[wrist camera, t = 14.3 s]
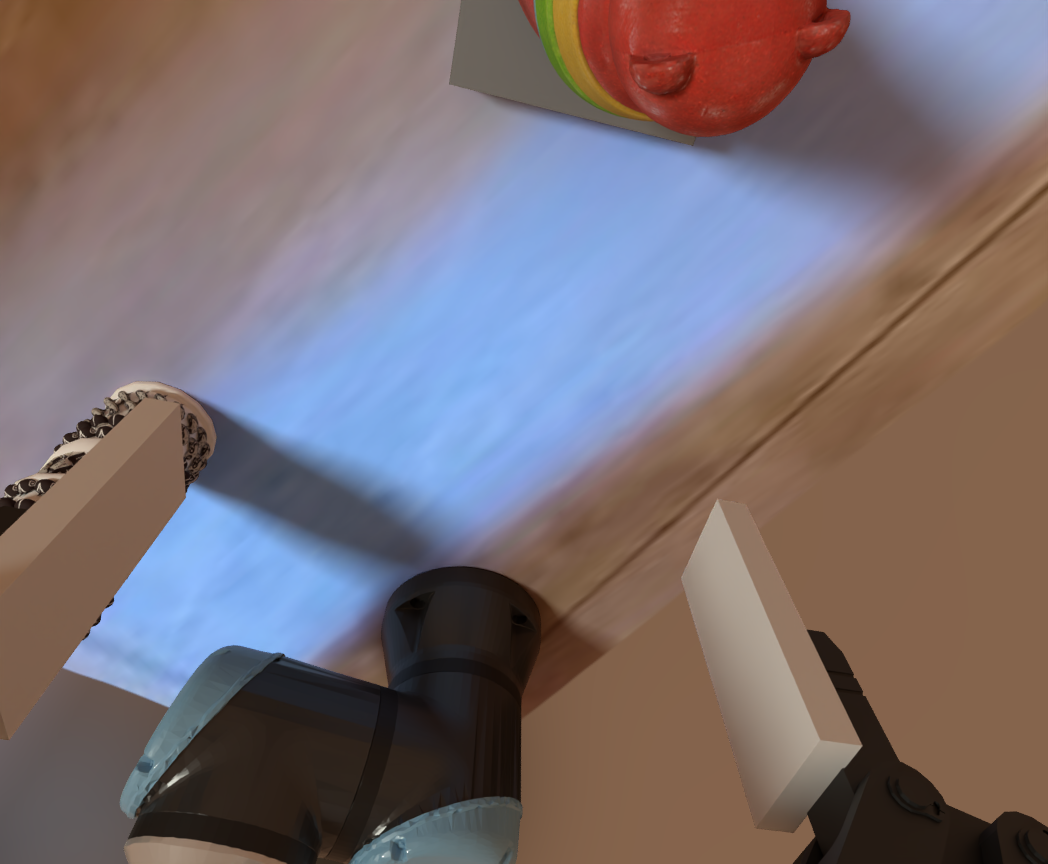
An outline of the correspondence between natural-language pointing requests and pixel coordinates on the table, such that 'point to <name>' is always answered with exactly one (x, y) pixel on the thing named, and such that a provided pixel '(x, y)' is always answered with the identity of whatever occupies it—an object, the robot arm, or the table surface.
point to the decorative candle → (89, 432)
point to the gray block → (523, 66)
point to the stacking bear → (685, 55)
